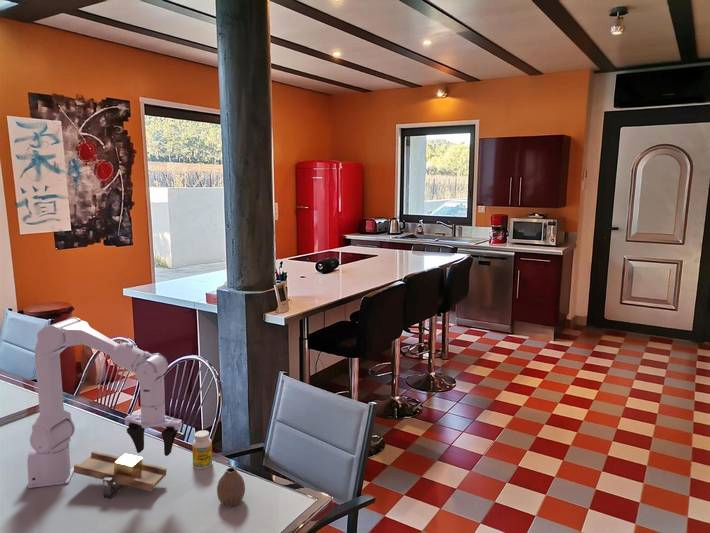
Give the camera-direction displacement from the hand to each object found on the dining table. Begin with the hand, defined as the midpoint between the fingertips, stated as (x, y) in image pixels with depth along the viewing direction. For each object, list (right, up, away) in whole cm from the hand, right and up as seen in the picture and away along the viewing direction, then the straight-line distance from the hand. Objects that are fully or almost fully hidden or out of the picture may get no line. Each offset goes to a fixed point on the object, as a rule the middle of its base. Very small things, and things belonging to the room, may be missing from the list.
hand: (154, 452), depth 133 cm
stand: (-10, -10, +3) cm, 14 cm away
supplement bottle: (+8, -9, +14) cm, 19 cm away
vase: (+21, -12, -3) cm, 24 cm away
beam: (-10, -6, +2) cm, 12 cm away
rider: (-8, -6, +2) cm, 10 cm away
